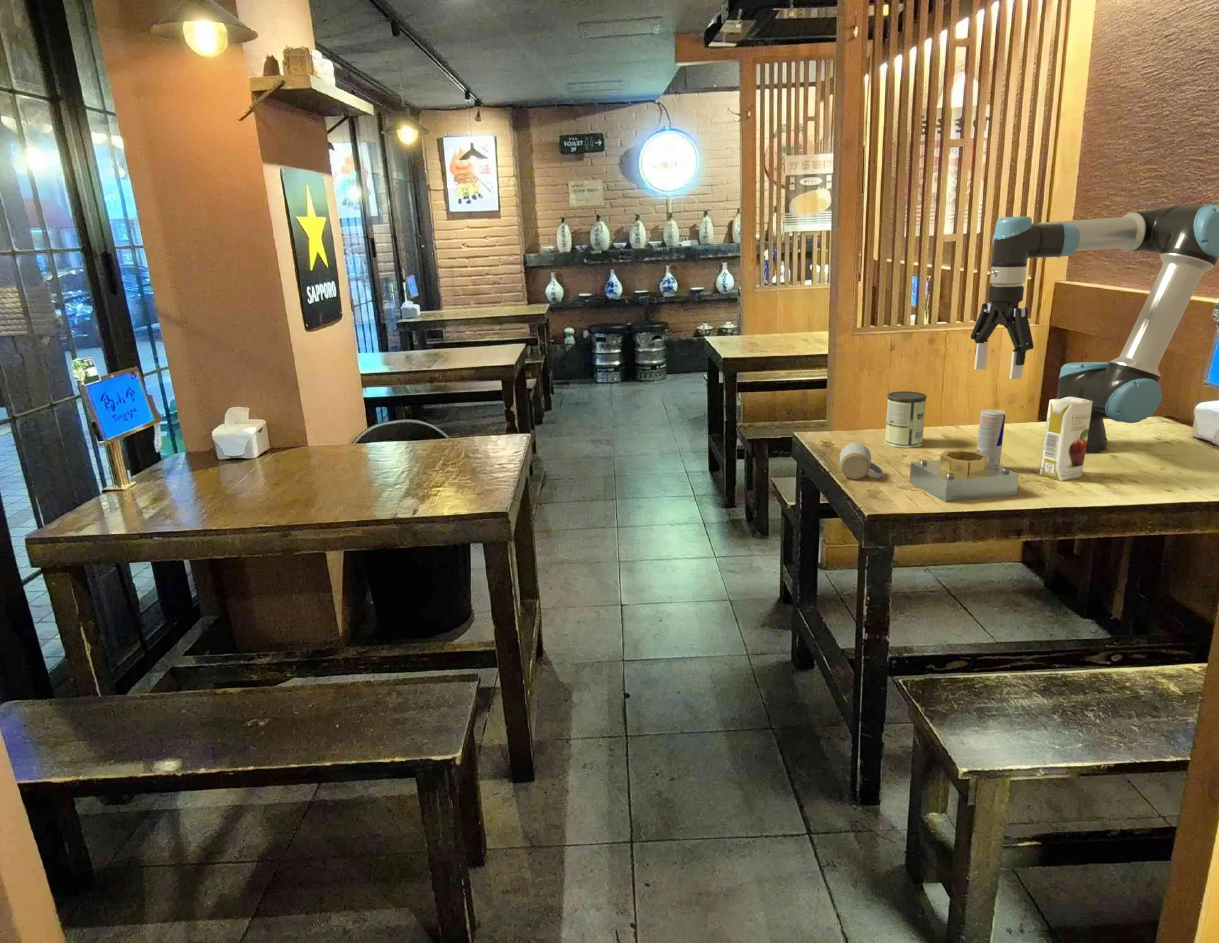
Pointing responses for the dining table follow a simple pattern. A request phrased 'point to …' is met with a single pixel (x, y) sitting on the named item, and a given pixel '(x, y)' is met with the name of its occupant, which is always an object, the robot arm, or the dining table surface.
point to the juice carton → (1065, 438)
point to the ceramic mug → (858, 462)
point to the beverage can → (991, 434)
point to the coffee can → (905, 419)
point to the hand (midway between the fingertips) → (997, 373)
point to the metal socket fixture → (963, 477)
